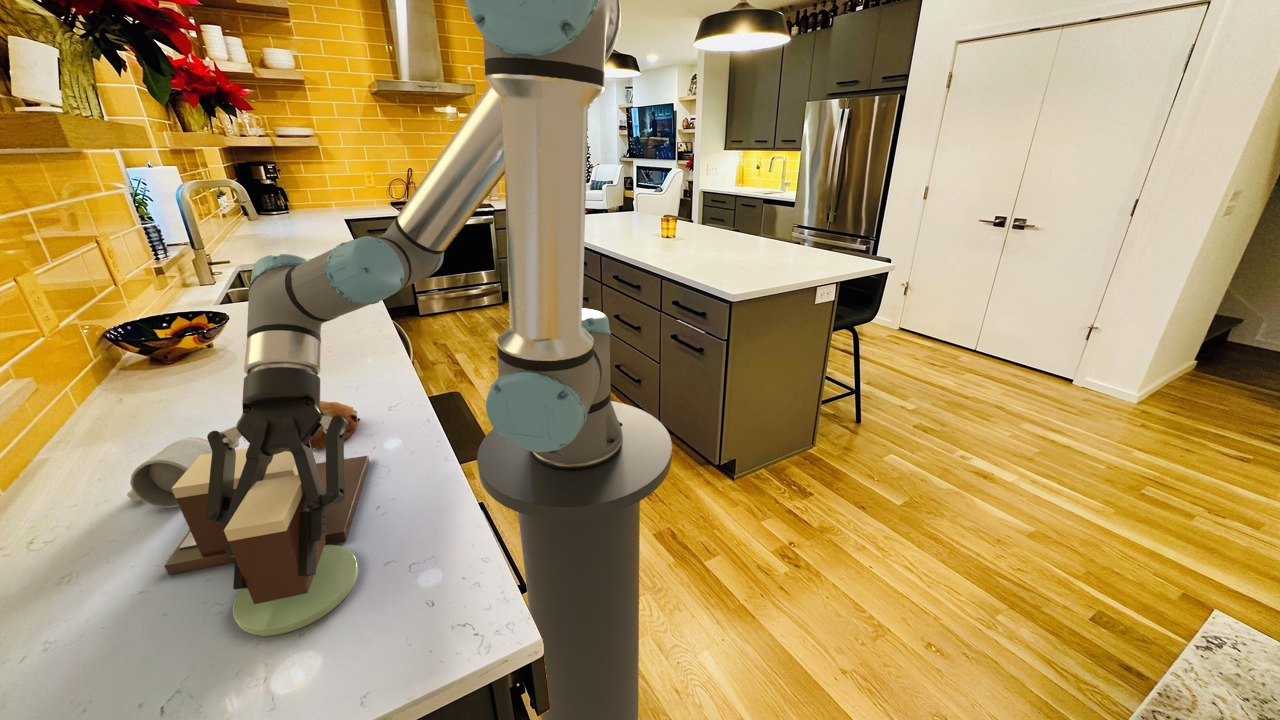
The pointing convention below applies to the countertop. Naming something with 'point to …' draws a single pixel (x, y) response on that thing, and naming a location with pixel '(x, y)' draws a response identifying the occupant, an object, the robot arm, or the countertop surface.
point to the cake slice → (271, 539)
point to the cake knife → (188, 542)
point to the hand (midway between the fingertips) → (276, 581)
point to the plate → (301, 597)
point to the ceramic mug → (165, 472)
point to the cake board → (336, 520)
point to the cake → (195, 493)
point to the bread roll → (333, 410)
